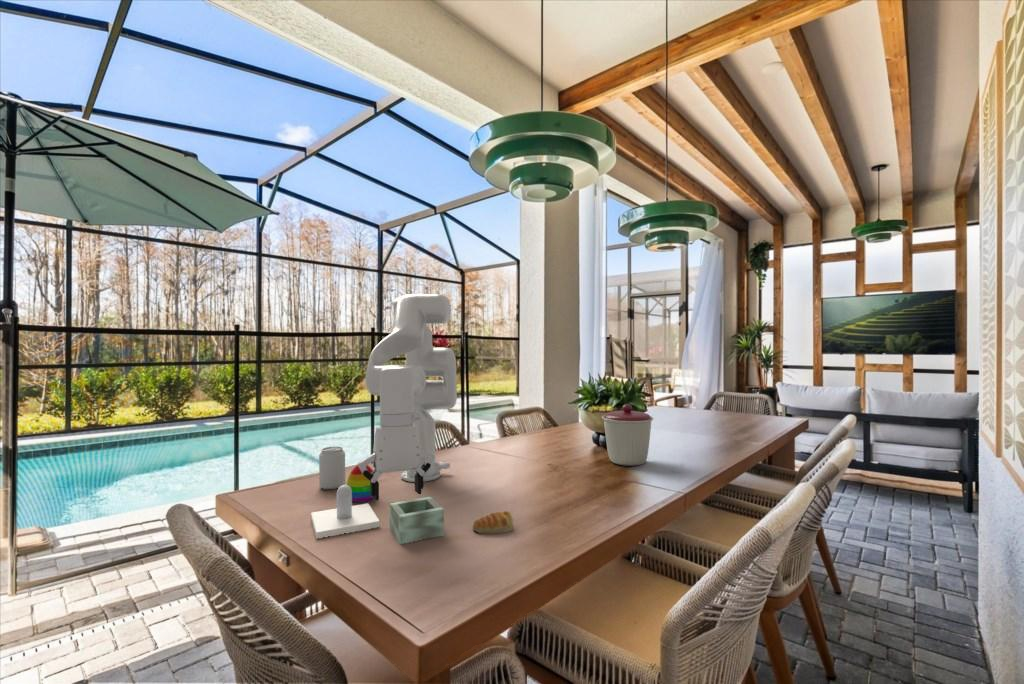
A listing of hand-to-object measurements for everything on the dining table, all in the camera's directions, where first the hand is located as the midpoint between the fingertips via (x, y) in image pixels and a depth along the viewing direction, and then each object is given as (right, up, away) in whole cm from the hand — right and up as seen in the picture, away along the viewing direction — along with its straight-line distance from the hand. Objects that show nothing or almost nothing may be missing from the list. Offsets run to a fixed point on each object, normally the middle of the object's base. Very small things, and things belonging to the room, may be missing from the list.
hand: (397, 495), depth 107 cm
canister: (+68, -9, +63) cm, 93 cm away
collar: (+4, -9, +3) cm, 10 cm away
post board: (-15, -9, +8) cm, 20 cm away
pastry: (+22, -10, +4) cm, 25 cm away
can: (-29, -10, +37) cm, 48 cm away
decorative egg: (-16, -10, +26) cm, 32 cm away
